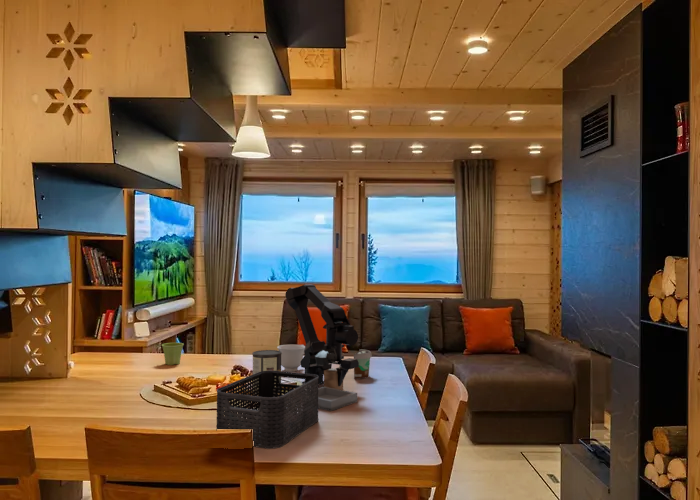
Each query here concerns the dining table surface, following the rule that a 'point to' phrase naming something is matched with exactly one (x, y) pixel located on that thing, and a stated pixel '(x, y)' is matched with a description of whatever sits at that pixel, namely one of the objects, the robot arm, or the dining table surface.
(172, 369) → the dining table surface
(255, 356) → the coffee can
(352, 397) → the serving tray
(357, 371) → the food container
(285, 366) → the teacup
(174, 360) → the plant pot
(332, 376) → the walnut block
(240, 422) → the storage bin
